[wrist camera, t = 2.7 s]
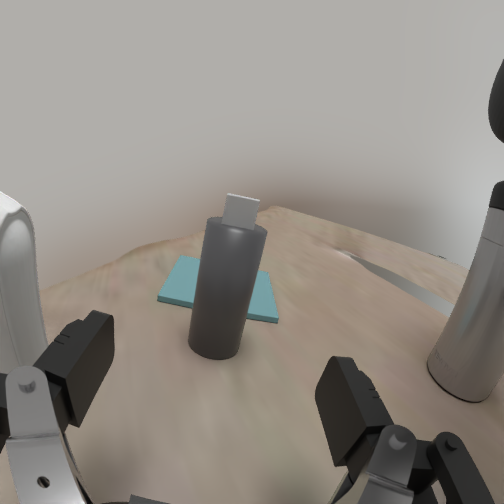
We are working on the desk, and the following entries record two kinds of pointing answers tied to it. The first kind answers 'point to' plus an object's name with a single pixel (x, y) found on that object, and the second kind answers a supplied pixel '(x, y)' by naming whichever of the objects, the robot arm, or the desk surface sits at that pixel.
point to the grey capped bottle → (226, 278)
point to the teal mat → (184, 284)
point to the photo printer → (19, 289)
